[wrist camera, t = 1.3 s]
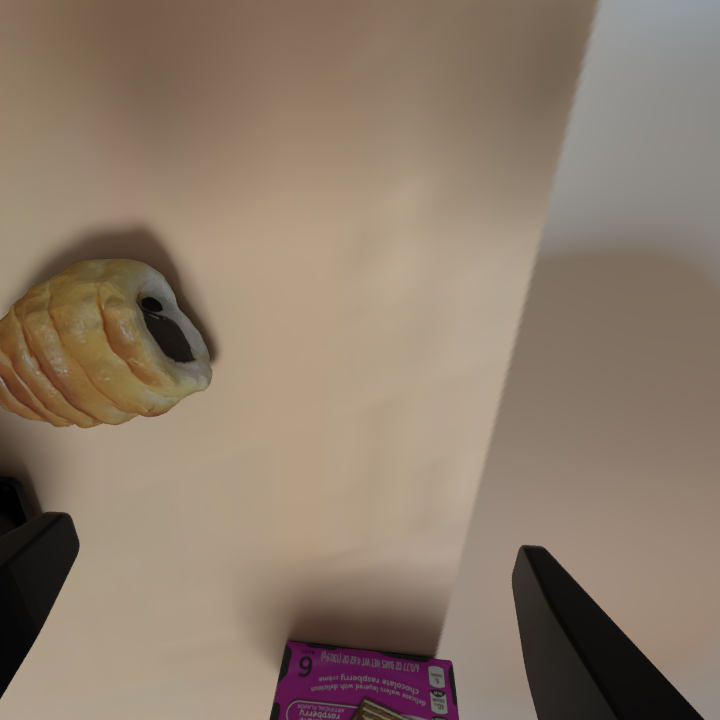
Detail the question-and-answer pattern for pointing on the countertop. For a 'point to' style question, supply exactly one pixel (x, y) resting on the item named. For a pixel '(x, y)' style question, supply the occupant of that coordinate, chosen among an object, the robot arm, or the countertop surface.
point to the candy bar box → (362, 685)
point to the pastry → (99, 347)
